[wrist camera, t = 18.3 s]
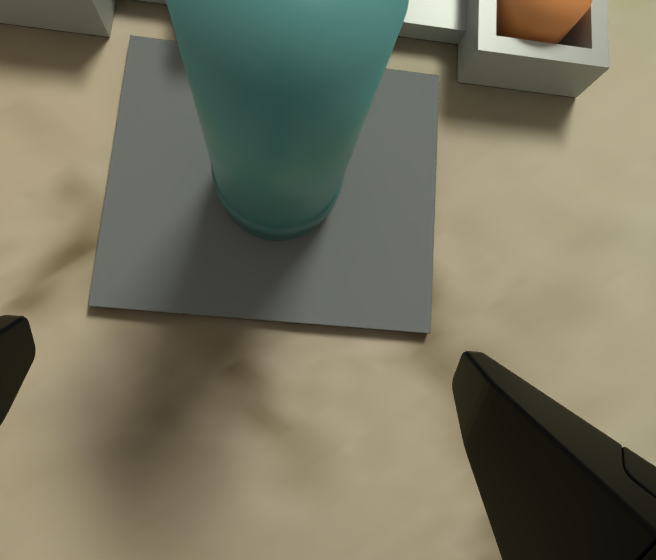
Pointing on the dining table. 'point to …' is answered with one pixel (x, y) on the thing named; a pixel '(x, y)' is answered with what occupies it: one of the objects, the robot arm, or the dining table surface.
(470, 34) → the housing
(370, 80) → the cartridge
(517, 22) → the plunger
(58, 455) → the dining table surface
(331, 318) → the mat
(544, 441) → the robot arm
